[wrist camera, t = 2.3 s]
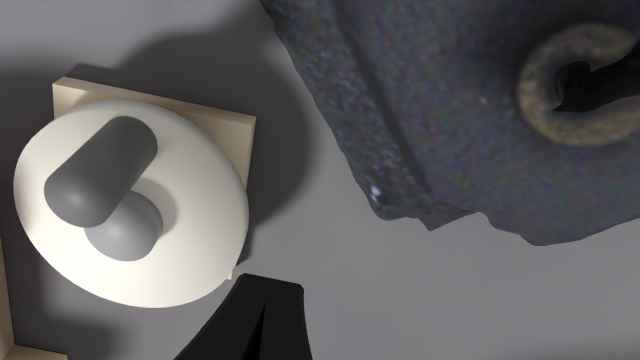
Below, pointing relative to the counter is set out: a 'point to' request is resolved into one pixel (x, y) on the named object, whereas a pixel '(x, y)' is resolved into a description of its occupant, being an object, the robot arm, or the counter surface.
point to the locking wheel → (132, 203)
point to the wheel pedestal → (219, 124)
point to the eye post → (3, 355)
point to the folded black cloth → (479, 107)
